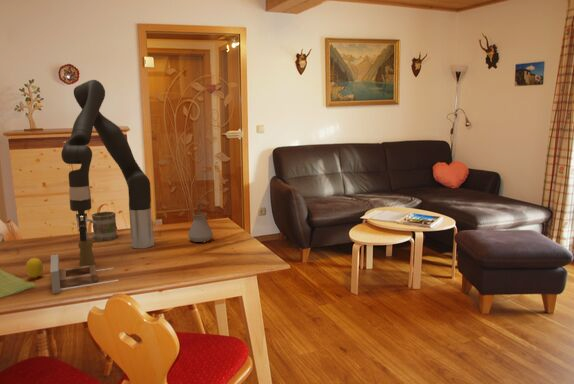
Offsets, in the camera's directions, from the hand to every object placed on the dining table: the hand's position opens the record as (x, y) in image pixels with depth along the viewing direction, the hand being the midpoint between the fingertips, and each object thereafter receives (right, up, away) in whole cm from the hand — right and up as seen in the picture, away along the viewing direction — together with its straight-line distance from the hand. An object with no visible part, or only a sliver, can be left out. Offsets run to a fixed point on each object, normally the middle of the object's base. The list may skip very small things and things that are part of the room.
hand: (83, 238), depth 184 cm
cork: (+1, -12, +2) cm, 12 cm away
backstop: (+7, -14, -12) cm, 19 cm away
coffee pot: (+38, -4, +41) cm, 56 cm away
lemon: (-13, -14, -10) cm, 22 cm away
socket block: (+4, -14, -13) cm, 20 cm away
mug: (-8, -5, +39) cm, 40 cm away
